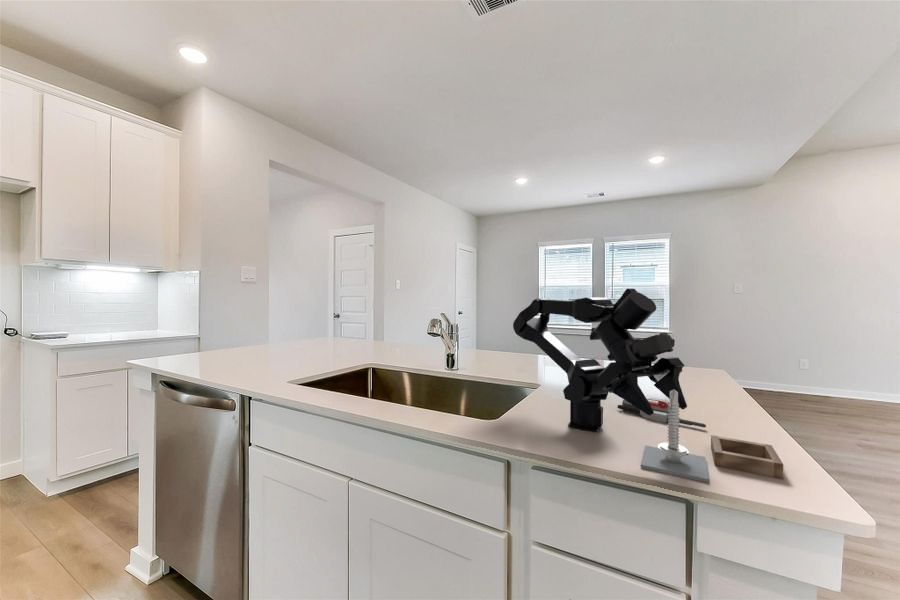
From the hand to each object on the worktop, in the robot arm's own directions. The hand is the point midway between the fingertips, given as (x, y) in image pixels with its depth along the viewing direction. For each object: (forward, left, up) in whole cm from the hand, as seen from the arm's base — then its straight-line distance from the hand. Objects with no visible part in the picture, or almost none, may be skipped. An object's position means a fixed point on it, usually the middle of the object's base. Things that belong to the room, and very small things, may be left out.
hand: (668, 411), depth 69 cm
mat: (+1, -1, -9) cm, 9 cm away
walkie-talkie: (-2, +28, -10) cm, 30 cm away
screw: (+1, -1, -9) cm, 9 cm away
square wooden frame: (+12, +7, -9) cm, 17 cm away
